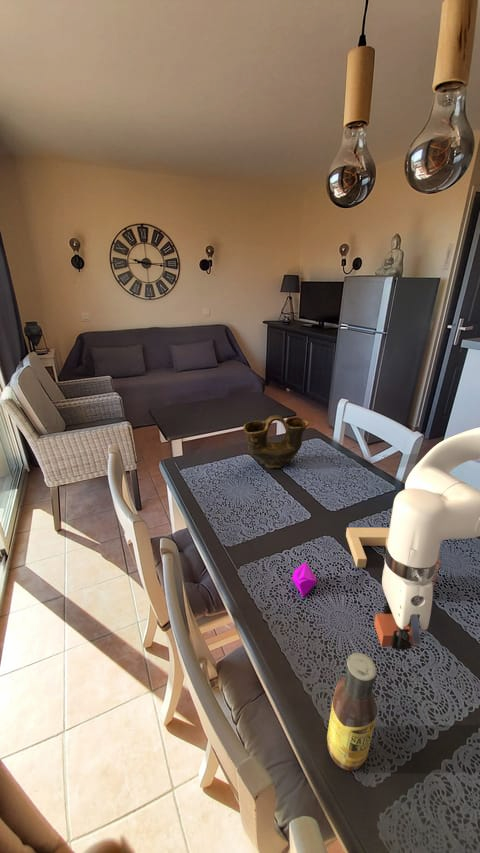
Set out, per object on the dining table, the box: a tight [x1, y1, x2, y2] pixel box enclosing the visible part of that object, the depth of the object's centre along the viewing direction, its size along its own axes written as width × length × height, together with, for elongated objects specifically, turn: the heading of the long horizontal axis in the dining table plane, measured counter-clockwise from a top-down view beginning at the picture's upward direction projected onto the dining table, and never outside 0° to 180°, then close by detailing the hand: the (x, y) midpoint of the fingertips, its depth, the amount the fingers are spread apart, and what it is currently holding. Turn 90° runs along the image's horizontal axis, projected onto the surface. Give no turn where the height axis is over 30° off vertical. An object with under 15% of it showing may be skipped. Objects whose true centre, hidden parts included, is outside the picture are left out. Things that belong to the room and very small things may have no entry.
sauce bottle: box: [326, 652, 378, 772], centre depth 54 cm, size 6×6×20 cm
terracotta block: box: [373, 613, 419, 648], centre depth 67 cm, size 6×4×3 cm
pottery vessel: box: [242, 414, 310, 469], centre depth 138 cm, size 25×11×20 cm, turn 97°
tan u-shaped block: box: [345, 527, 390, 569], centre depth 97 cm, size 12×12×3 cm
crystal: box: [291, 561, 318, 598], centre depth 86 cm, size 5×5×5 cm
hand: (395, 633), depth 67 cm, fingers closed on terracotta block, 4 cm apart
